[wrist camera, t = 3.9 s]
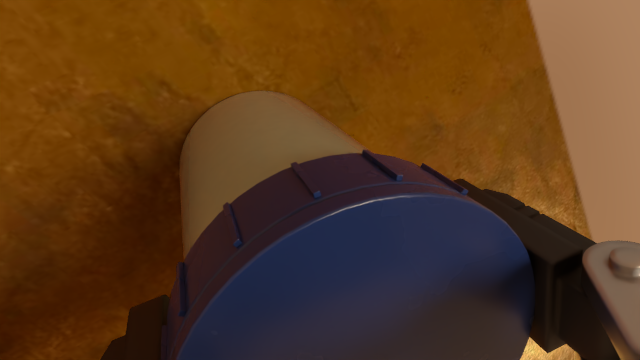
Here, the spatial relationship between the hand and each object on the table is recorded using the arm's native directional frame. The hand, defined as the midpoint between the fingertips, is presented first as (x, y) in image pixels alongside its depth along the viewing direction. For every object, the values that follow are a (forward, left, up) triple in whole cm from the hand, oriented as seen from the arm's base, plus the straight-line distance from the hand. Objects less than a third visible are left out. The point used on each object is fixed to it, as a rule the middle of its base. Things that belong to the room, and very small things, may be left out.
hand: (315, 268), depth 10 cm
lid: (0, 0, +3) cm, 3 cm away
